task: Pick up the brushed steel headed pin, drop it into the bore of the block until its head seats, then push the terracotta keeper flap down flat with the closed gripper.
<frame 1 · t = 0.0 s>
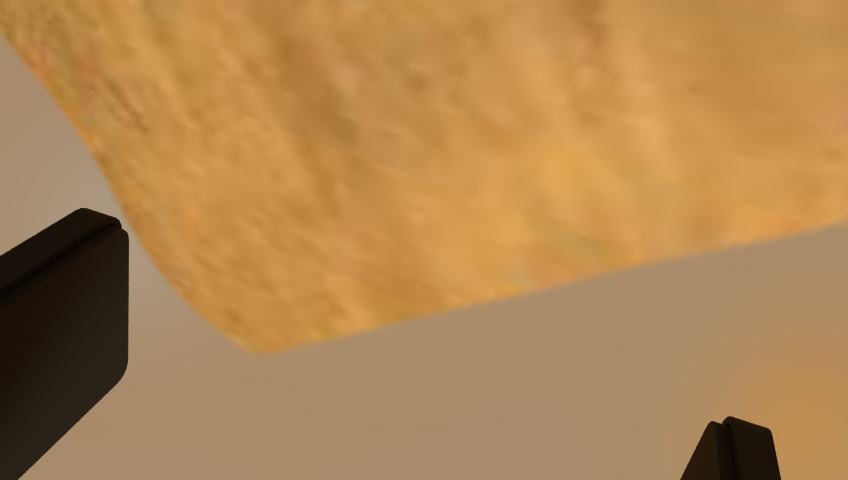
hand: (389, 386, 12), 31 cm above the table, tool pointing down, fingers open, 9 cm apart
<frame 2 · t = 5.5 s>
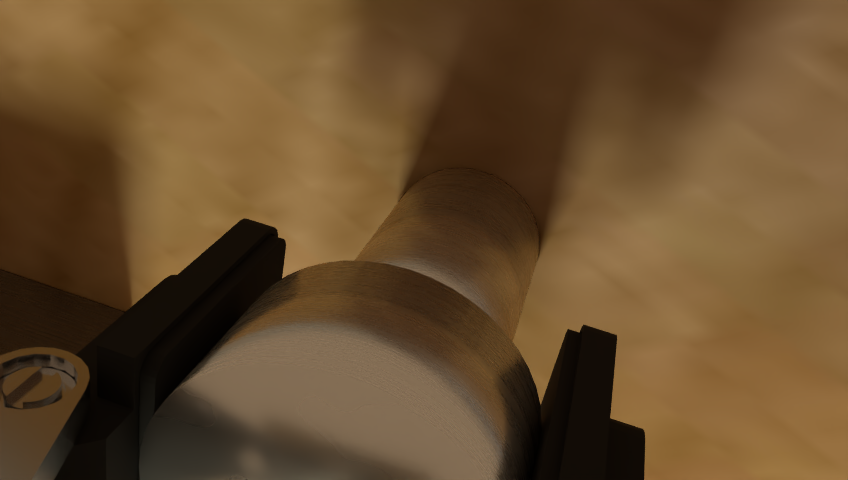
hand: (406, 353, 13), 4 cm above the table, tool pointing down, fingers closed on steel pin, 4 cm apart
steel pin: (464, 238, 16), on the table, touching gripper
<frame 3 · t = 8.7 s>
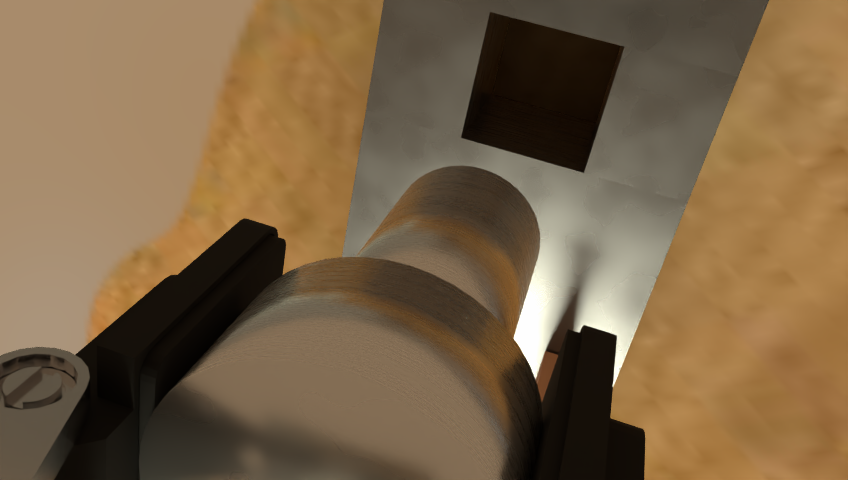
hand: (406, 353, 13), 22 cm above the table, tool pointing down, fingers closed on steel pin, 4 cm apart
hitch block: (516, 205, 35), on the table
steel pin: (465, 236, 16), point 18 cm above the table, touching gripper
when the fingers open (7 cm above the table, at t = 12.2 s): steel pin drops 2 cm, resting on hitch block.
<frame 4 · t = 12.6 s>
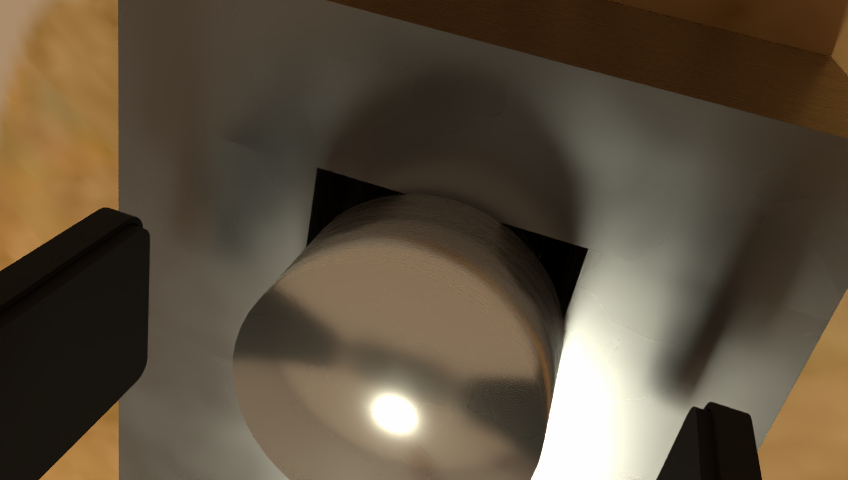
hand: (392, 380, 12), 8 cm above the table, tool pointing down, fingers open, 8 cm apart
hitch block: (431, 409, 22), on the table
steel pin: (488, 195, 19), resting on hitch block
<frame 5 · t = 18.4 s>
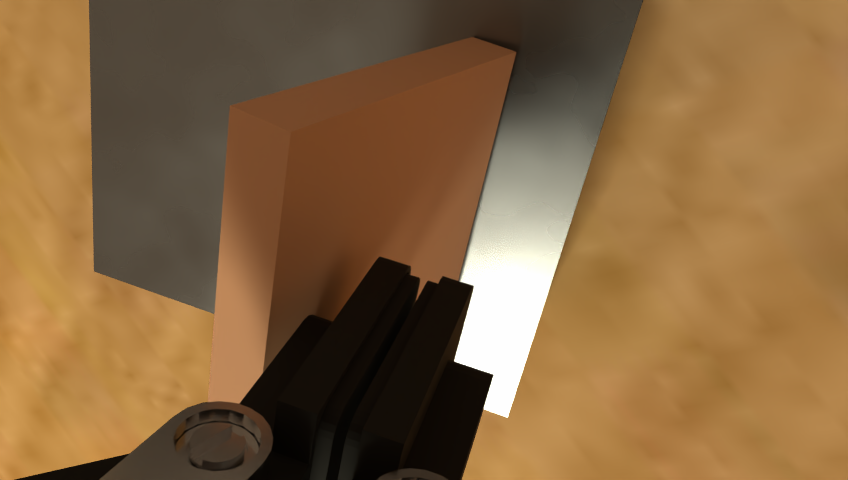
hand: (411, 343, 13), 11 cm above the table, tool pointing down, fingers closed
keeper flap: (365, 277, 14), point 10 cm above the table, hinge at 76.4°, touching gripper
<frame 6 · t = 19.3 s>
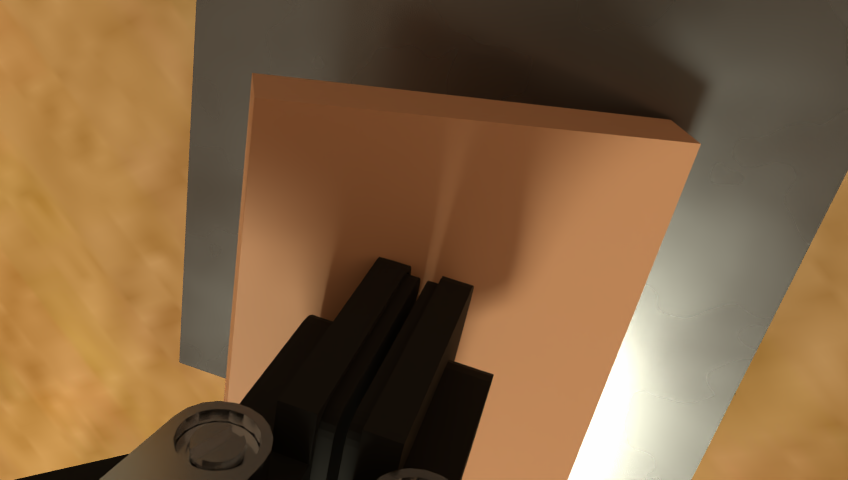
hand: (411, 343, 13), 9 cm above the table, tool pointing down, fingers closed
keeper flap: (435, 321, 14), point 8 cm above the table, hinge at 28.2°, touching gripper
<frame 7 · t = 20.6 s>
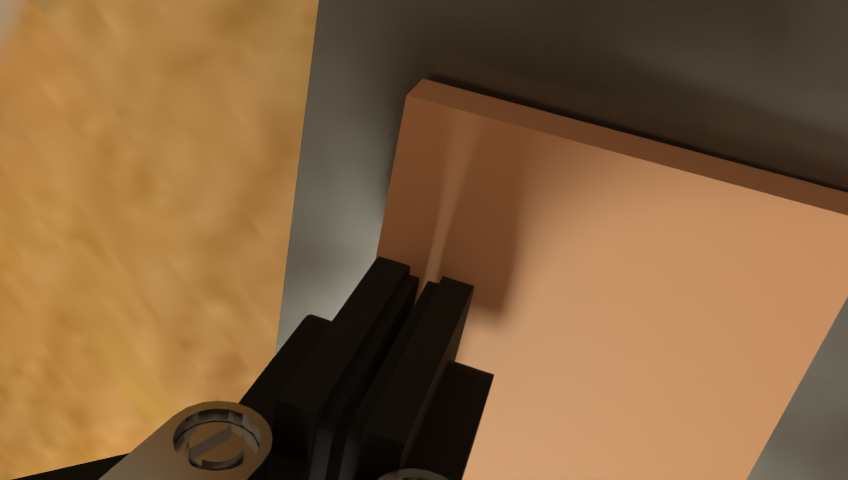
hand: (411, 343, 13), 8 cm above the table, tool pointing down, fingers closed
keeper flap: (563, 356, 13), point 7 cm above the table, hinge at 1.2°
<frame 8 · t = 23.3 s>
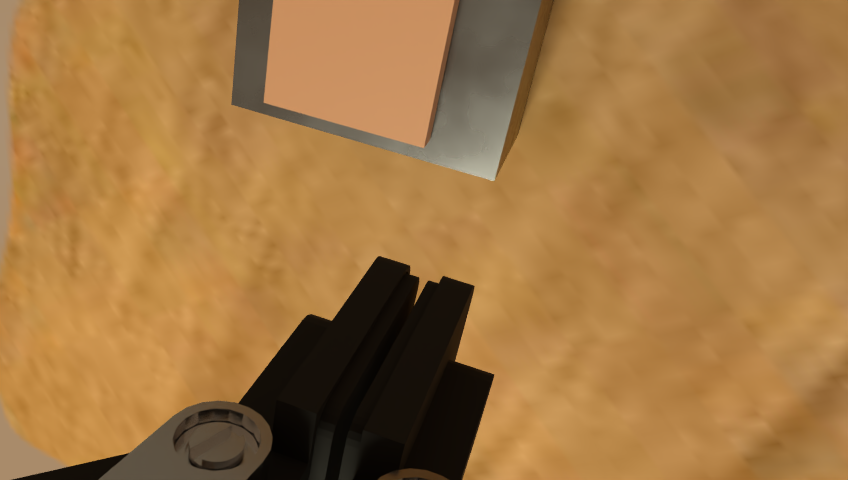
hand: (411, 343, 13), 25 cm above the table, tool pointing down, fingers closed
keeper flap: (361, 25, 30), point 7 cm above the table, hinge at 0.8°
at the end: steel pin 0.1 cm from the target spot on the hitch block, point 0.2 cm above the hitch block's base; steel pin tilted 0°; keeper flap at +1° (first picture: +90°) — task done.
